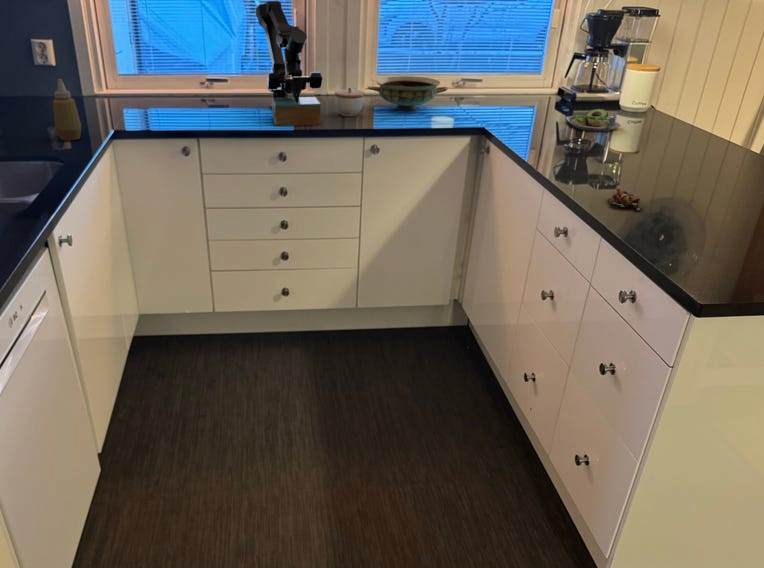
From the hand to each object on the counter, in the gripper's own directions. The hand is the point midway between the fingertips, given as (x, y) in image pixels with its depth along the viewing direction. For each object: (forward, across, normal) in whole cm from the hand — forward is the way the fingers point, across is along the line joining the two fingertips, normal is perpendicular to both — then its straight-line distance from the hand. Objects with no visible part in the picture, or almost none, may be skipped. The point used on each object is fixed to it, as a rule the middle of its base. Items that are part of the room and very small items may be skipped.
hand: (297, 101), depth 237 cm
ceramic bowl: (-10, -45, -20) cm, 50 cm away
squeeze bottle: (+14, +75, +3) cm, 76 cm away
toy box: (+2, 0, -8) cm, 8 cm away
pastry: (+72, -70, +61) cm, 117 cm away
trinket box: (-4, -21, -15) cm, 26 cm away
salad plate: (+16, -103, +5) cm, 104 cm away
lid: (-2, 0, -3) cm, 4 cm away
